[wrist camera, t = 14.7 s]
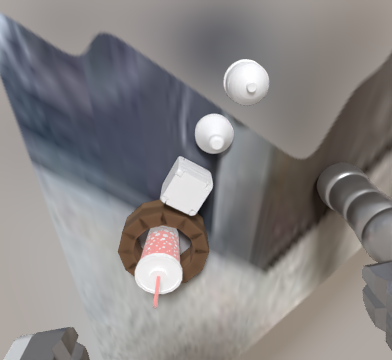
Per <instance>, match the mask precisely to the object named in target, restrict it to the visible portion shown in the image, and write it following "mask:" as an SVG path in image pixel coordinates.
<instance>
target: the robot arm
mask: <svg viewBox="0 0 392 360" xmlns="http://www.w3.org/2000/svg"><path fill="white" fill-rule="evenodd" d="M362 278H363V279H364V281H365V282H366V283H367V285H366V286H365V287H364V289H363V301H364V304H365V307H366V310H367V312H368V314H369V316H370V318H371V320H372V321H373V323H374V325H375V326H376V327H378V328H379V329H381V330H383V331H385V332H386V342H387V344H388V346H389V347H390V349H391V350H392V260H388V261H384V262H379V263H375V264H370V265H365V266H364V267H363V269H362ZM77 338H78V334H77V332H76V331H75V329H74V328H73V327H72V328H71V327H67V328H61V329H56V330H50V331H45V332H39V333H36V334H30V335H24V336H20V337H19V338H17V339H16V340H15V341H14V343H13V344H12V346H11V348H10V349H9V351H8V353H7V355H6V356H5V358H4V360H90V359H89V355H88V352H87V350H86V348H85V346H83V345H81V344H80V343H78V342H76V341H77Z"/></svg>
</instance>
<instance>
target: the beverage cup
mask: <svg viewBox="0 0 392 360" xmlns="http://www.w3.org/2000/svg"><path fill="white" fill-rule="evenodd" d="M135 280H136V282H137V284H138V285H139V286H140V287H141V288H142V289H144V290H145V291H147V292H150V293H153V294H154V302H153V308H155V309H156V308H157V303H158V294H165V293H168V292H172V291H173V290H174V289H176V288H177V287H178V286H179V285H180V283H181V281H182V267H181V265H180V253H179V236H178V231H177V229H176V228H172V227H167V226H159V227H154V228H150V231H149V233H148V236H147V239H146V243H145V246H144V249H143V252H142V256H141V259H140V261H139V262H138V264H137V266H136V269H135Z"/></svg>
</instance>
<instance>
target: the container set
mask: <svg viewBox="0 0 392 360" xmlns="http://www.w3.org/2000/svg"><path fill="white" fill-rule="evenodd" d="M223 85H224V89H225V92H226V93H227V95H228V96H229V98H230V99H232V100H233V101H235V102H236V103H238V104H240V105H244V106H250V105H254V104H256V103H258V102H259V101H261V100H262V99H263V98H264V96H265V95H266V93H267V91H268V88H269V77H268V74H267V72H266V71H265V69H264V68H263V67H262V66H260V65H259V64H258V63H257V62H255V61H252V60H248V59H243V60H239V61H236V62H235V63H233V64H232V65H231V66H230V67H229V68H228V69H227V71H226V73H225V75H224V82H223ZM233 136H234V133H233V128H232V126H231V124H230V122H229V121H228V120H227V119H226V118H225V117H224V116H222V115H218V114H210V115H207V116H205V117H203V118H202V119H201V120H200V121H199V122H198V123H197V126H196V129H195V138H196V142H197V144H198V146H199V147H200V148H201V149H202V150H203V151H205V152H207V153H211V154H216V153H220V152H223V151H224V150H226V149H227V148H228V147H229V146H230V145H231V143H232V141H233ZM212 187H213V182H212V177H211V173H210V172H209V171H208V170H205V169H204V168H202V167H201V166H199V165H197V164H195V163H193V162H191V161H189V160H187V159H184V158H183V157H180V156H179V157H178V158H177V161H176V162H175V163H174V165H173V167H172V169H171V170H170V172H169V174H168V176H167V177H166V179H165V181H164V183H163V185H162V190H161V196H160V200H161V201H162V202H163V203H165V202H166V204H167V205H169V206H171V207H174V208H176V209H178V210H180V211H182V212H184V213H186V214H189V215H190V216H193V215H196V212H197V211H198V210H199V208H200V207H201V205H202V204H203V202H204V201H205V199H206V198H207V196H208V195H209V193H210V192H211V190H212Z"/></svg>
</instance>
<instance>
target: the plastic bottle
mask: <svg viewBox="0 0 392 360" xmlns="http://www.w3.org/2000/svg"><path fill="white" fill-rule="evenodd" d="M317 191H318V193H319V196H320V198H321V200H322V201H323V202H324V203H325V204H326V205H327V206H328V207H330V208H331V209H333V210H334V211H336V212H337V213H338V214H339V215H341V216H342V217H343V218H344V219H345V220H346V221H347V223H348V224H349V225H350V227H351V228H352V229H353V231H354V232H355V234H356V235H357V237H358V239H359V241H360V242H361V244H362V246H363V248H364V249H365V250H366V252H367V253H368V254H369V256H370V257H371V258H372V259H373V260H375V261H376V262H378V263H379V262H384V261H388V260H392V199H391V198H390V197H388V196H387V195H385V194H384V193H382V192H381V191H379V190H378V189H377V188H376V187H375V186H374V185H373V184H372V183H371V181H370V180H369V178H368V177H367V176H366V174H365V173H364V172H363V171H362V170H361V169H359V168H358V167H356V166H353V165H351V164H348V163H337V164H333V165H331V166H329V167H328V168H326V169H325V170H324V171H323V172H322V173H321V174H320V176H319V178H318V181H317Z"/></svg>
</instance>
